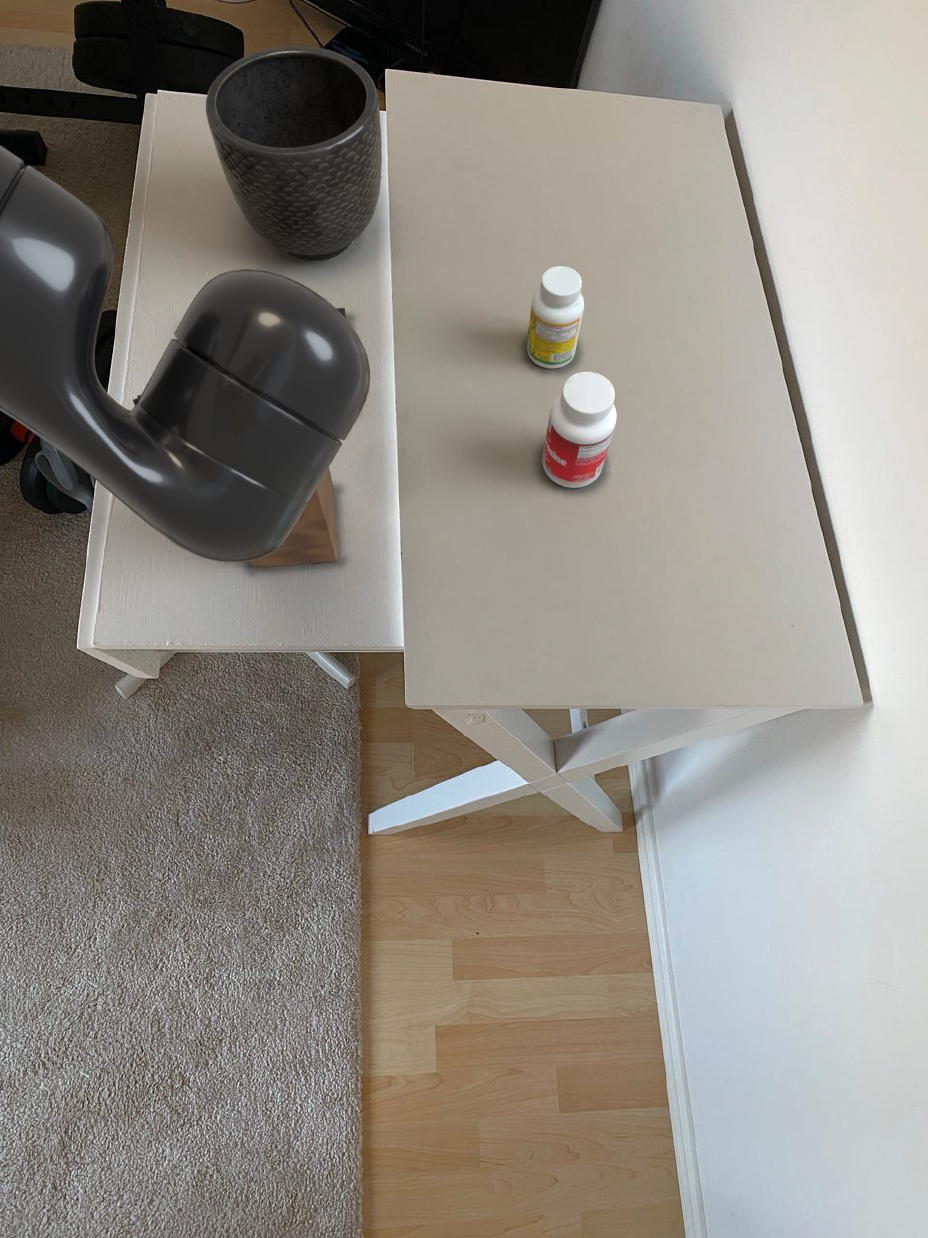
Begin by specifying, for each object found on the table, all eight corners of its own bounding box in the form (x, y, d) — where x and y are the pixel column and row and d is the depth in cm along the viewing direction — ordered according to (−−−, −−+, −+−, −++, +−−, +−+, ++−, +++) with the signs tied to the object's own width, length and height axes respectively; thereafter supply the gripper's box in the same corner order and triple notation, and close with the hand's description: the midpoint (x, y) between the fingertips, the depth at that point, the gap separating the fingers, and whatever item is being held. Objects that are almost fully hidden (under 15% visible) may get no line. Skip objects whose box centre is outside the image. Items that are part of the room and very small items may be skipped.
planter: (363, 301, 89) (346, 169, 74) (220, 271, 90) (175, 135, 76) (407, 199, 95) (399, 60, 81) (274, 173, 97) (242, 31, 82)
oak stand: (252, 568, 75) (211, 485, 62) (253, 497, 78) (214, 403, 65) (337, 561, 75) (313, 477, 62) (334, 491, 78) (311, 397, 65)
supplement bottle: (562, 377, 84) (575, 308, 76) (517, 358, 85) (525, 288, 77) (583, 343, 86) (597, 272, 78) (539, 325, 87) (548, 253, 79)
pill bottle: (534, 446, 81) (545, 370, 71) (591, 434, 81) (610, 358, 71) (551, 495, 78) (566, 425, 68) (610, 483, 79) (633, 412, 69)
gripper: (345, 294, 44) (318, 308, 60) (88, 362, 42) (129, 358, 58) (382, 426, 47) (347, 406, 63) (143, 496, 45) (168, 458, 60)
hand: (243, 383), depth 60 cm, fingers closed on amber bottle, 5 cm apart
